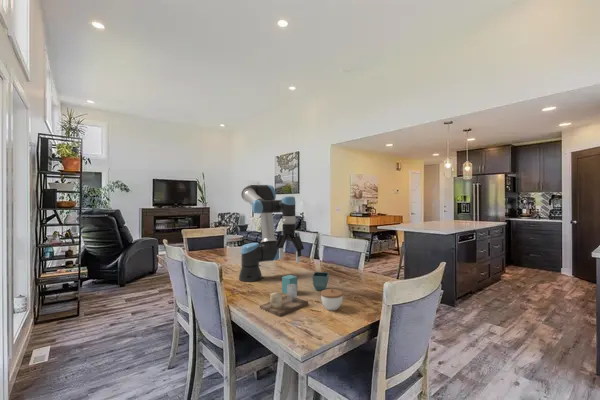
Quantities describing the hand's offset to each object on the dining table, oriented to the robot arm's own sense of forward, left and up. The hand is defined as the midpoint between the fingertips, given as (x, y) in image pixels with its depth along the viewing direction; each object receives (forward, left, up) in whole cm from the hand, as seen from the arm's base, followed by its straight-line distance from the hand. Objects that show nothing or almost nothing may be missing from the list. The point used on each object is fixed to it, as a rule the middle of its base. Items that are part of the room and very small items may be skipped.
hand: (289, 260), depth 166 cm
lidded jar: (+32, -3, -19) cm, 37 cm away
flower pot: (+10, +16, -19) cm, 26 cm away
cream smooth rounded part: (+13, -22, -18) cm, 32 cm away
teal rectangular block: (0, 0, -18) cm, 18 cm away
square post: (+13, -11, -18) cm, 25 cm away
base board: (+13, -17, -18) cm, 28 cm away
